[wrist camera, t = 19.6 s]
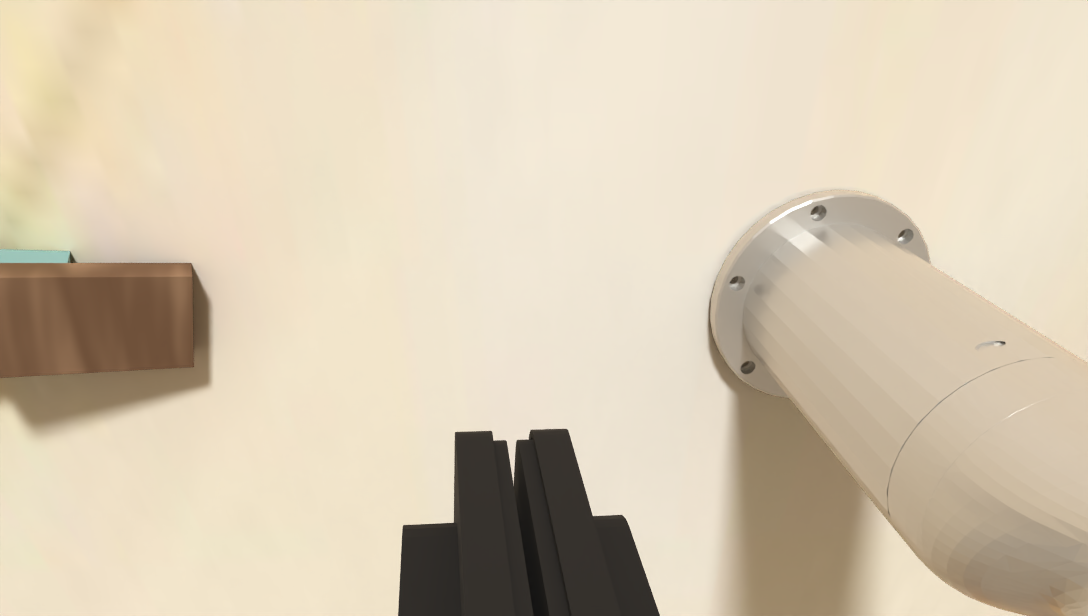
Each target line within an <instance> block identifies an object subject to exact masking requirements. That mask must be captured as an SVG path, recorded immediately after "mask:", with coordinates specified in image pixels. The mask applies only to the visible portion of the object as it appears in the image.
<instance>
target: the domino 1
mask: <svg viewBox="0 0 1088 616" xmlns="http://www.w3.org/2000/svg"><path fill="white" fill-rule="evenodd" d="M0 263H71V259H70V251H42V250H5V249H0Z"/></svg>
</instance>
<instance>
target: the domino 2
mask: <svg viewBox="0 0 1088 616" xmlns="http://www.w3.org/2000/svg"><path fill="white" fill-rule="evenodd" d="M183 367H194V351H193V279H192V266H191V263H0V378H5V377H22V376H40V375H58V374H76V373H94V372H112V371H130V370H148V369H165V368H183Z"/></svg>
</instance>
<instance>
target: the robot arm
mask: <svg viewBox="0 0 1088 616" xmlns="http://www.w3.org/2000/svg"><path fill="white" fill-rule="evenodd" d="M813 208H814V209H813ZM812 209H813V211H812ZM734 277H735V278H734ZM732 278H734V279H733V280H732ZM710 321H711V328H712V335H713V338H714V340H715V343H716V345H717V348H718V351H719V352H720V354H721V355H722V357H723V358H724V360H725V361H726V363H727V365H728V366H729V367H730V368H731V370H732V371H733V372H734V373H735V374H736V376H737V377H739V378H740V379H741V380H742V381H744V382H745V383H747V384H748V385H750V386H751V387H752V388H754V389H756V390H759V391H761V392H764V393H766V394H769V395H772V396H778V397H783V398H790V399H791V401H792V402H793V403H794V404H795V406H796V407H797V408H798V409H799V411H800V412H801V413H802V414H803V416H804V417H805V418H806V419H807V421H808V422H809V423H810V424H811V426H812V427H813V428H814V429H815V431H816V432H817V433H818V434H819V436H820V437H821V438H822V439H823V441H824V442H825V443H826V444H827V446H828V447H829V448H830V449H831V451H832V452H833V453H834V454H835V456H836V457H837V458H838V459H839V461H840V462H841V463H842V464H843V466H844V467H845V468H846V469H847V471H848V472H849V473H850V474H851V476H852V477H853V478H854V479H855V481H856V482H857V483H858V484H859V486H860V487H861V488H862V489H863V491H864V492H865V493H866V494H867V496H868V497H869V498H870V499H871V501H872V502H873V503H874V504H875V506H876V507H877V508H878V509H879V511H880V512H881V513H882V514H883V516H884V517H885V518H886V519H887V520H888V522H889V523H890V524H891V525H892V526H893V528H894V529H895V530H896V531H897V532H898V533H899V535H900V536H901V537H902V539H903V540H904V541H905V542H906V544H907V545H908V546H909V547H910V548H911V550H912V551H913V552H914V553H915V555H916V556H917V557H918V558H919V559H920V560H921V561H922V562H923V563H924V564H925V565H926V567H927V568H928V569H930V570H931V571H932V572H933V573H934V574H935V575H936V576H938V577H939V578H940V579H941V580H942V581H944V582H945V583H946V584H948V585H949V586H951V587H952V588H954V589H956V590H957V591H959V592H961V593H962V594H964V595H966V596H968V597H970V598H972V599H975V600H977V601H980V602H982V603H985V604H987V605H990V606H993V607H996V608H999V609H1002V610H1006V611H1010V612H1014V613H1018V614H1022V615H1026V616H1088V363H1087V362H1085V361H1084V360H1082V359H1081V358H1079V357H1077V356H1076V355H1074V354H1073V353H1071V352H1069V351H1068V350H1066V349H1065V348H1063V347H1062V346H1060V345H1058V344H1057V343H1055V342H1054V341H1052V340H1050V339H1049V338H1047V337H1046V336H1044V335H1042V334H1041V333H1039V332H1038V331H1036V330H1034V329H1033V328H1031V327H1030V326H1028V325H1026V324H1025V323H1023V322H1022V321H1020V320H1018V319H1017V318H1015V317H1014V316H1012V315H1010V314H1009V313H1007V312H1006V311H1004V310H1002V309H1001V308H999V307H998V306H996V305H994V304H993V303H991V302H990V301H988V300H986V299H985V298H983V297H982V296H980V295H978V294H977V293H975V292H974V291H972V290H970V289H969V288H967V287H966V286H964V285H962V284H961V283H959V282H958V281H956V280H954V279H953V278H951V277H950V276H948V275H946V274H945V273H943V272H942V271H940V270H939V269H937V268H935V267H934V266H932V265H931V262H930V257H929V253H928V248H927V245H926V243H925V240H924V238H923V236H922V234H921V232H920V230H919V229H918V227H917V226H916V225H915V224H914V223H913V221H912V220H911V219H910V218H909V217H908V215H906V214H905V213H903V212H902V211H901V210H899V209H898V208H896V207H895V206H894V205H892V204H890V203H888V202H886V201H884V200H882V199H880V198H879V197H877V196H873V195H870V194H866V193H863V192H859V191H850V190H831V191H823V192H816V193H812V194H809V195H806V196H803V197H800V198H797V199H794V200H792V201H790V202H788V203H786V204H784V205H782V206H780V207H778V208H776V209H775V210H773V211H771V212H770V213H769V214H767V215H766V216H765V217H763V218H762V219H761V220H759V221H758V222H757V223H755V224H754V225H753V226H752V227H751V228H750V229H749V230H748V231H747V232H746V233H745V234H744V235H743V236H742V238H741V239H740V240H739V241H738V242H737V243H736V245H735V246H734V248H733V249H732V251H731V252H730V253H729V255H728V256H727V258H726V259H725V261H724V263H723V266H722V268H721V270H720V272H719V274H718V276H717V278H716V282H715V286H714V290H713V293H712V297H711V309H710ZM398 616H660V615H659V612H658V609H657V606H656V603H655V600H654V597H653V595H652V592H651V589H650V586H649V583H648V580H647V577H646V574H645V571H644V568H643V566H642V563H641V560H640V557H639V554H638V551H637V548H636V545H635V542H634V539H633V536H632V534H631V531H630V528H629V525H628V523H627V521H626V519H625V518H624V517H623V516H622V515H611V516H593V515H592V512H591V508H590V505H589V501H588V498H587V494H586V491H585V487H584V484H583V480H582V477H581V474H580V470H579V467H578V463H577V460H576V456H575V453H574V449H573V446H572V442H571V439H570V435H569V432H568V430H567V429H545V430H531V431H530V434H529V440H517V442H516V453H515V472H514V486H513V480H512V473H511V467H510V460H509V454H508V447H507V442H506V440H502V441H493V435H492V431H476V432H455V474H454V523H442V524H421V525H403V533H402V552H401V572H400V592H399V612H398Z"/></svg>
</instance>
